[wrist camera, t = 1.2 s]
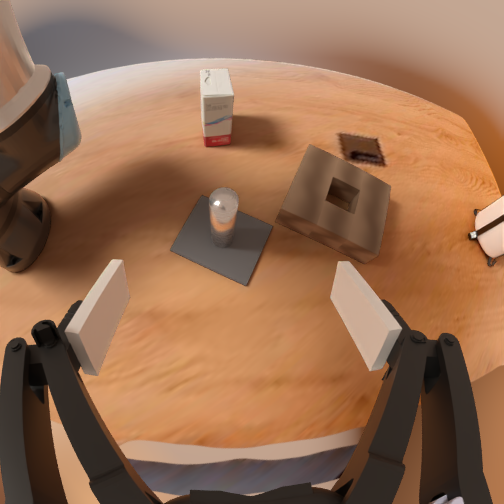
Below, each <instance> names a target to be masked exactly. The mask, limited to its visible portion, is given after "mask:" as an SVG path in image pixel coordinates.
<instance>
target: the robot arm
mask: <svg viewBox="0 0 504 504" xmlns="http://www.w3.org/2000/svg"><path fill="white" fill-rule="evenodd" d="M80 142H81V132H80V128H79V125H78V121H77V118H76V114H75V111H74V107H73V104H72V100H71V96H70V92H69V88H68V84H67V80H66V76H65V74H64V73H63V72H61V73H57V74H54V76H53V75H52V73H51V71H50V69H49V68H48V66H46V65H34V63H33V61H32V59H31V57H30V54H29V52H28V50H27V47H26V45H25V42H24V40H23V37H22V35H21V32H20V29H19V27H18V24H17V21H16V18H15V15H14V12H13V9H12V6H11V3H10V0H0V266H1V267H3V268H4V269H6V270H8V271H11V272H19V271H22V270H24V269H26V268H27V267H28V266H30V265H31V264H32V263H33V262H34V261H35V260H36V258H37V257H38V256H39V254H40V252H41V251H42V249H43V247H44V245H45V243H46V240H47V237H48V234H49V229H50V222H51V215H50V209H49V206H48V204H47V202H46V201H45V200H44V199H43V198H42V197H41V196H40V195H39V194H38V193H36V192H34V191H31V190H29V189H26V188H23V187H24V186H26V185H27V184H28V183H30V182H31V181H32V180H34V179H35V178H36V177H38V176H39V175H40V174H42V173H43V172H45V171H46V170H47V169H49V168H50V167H52V166H53V165H55V164H56V163H58V162H60V161H61V160H62V159H63V158H64V157H65V156H66V155H68V154H69V153H71V152H72V151H73V150H75V149H76V148H77V147H78V145H79V144H80ZM129 299H130V294H129V289H128V284H127V279H126V273H125V268H124V262H123V260H120V259H112V260H111V261H110V263H109V264H108V266H107V267H106V268H105V270H104V271H103V273H102V274H101V275H100V277H99V278H98V280H97V281H96V283H95V284H94V286H93V287H92V289H91V290H90V291H89V293H88V294H87V296H86V298H85V299H84V301H80V300H78V301H77V302H76V303H74V304H73V305H72V306H71V307H70V309H69V310H68V313H66V315H65V316H64V318H63V320H62V321H61V323H60V324H59V326H58V327H57V328H56V325H55V323H54V322H53V321H51V320H43V321H40V322H38V323H37V324H35V325H34V326H33V328H32V331H31V334H32V336H33V338H34V340H35V342H36V345H27V343H26V341H25V340H24V339H23V338H14V339H12V340H11V341H10V342H9V343H8V344H7V346H6V349H5V355H4V361H3V368H2V376H1V385H0V465H1V473H2V481H3V486H4V493H5V504H68V502H67V499H66V496H65V492H64V489H63V485H62V481H61V477H60V474H59V469H58V464H57V460H56V455H55V449H54V443H53V437H52V429H51V421H50V411H49V398H48V385H49V389H50V392H51V395H52V398H53V400H54V403H55V406H56V409H57V411H58V414H59V417H60V419H61V422H62V424H63V426H64V429H65V431H66V433H67V435H68V438H69V440H70V442H71V444H72V447H73V448H74V451H75V453H76V455H77V457H78V459H79V461H80V462H81V464H82V466H83V468H84V470H85V472H86V473H87V475H88V477H89V479H90V482H89V485H90V488H91V490H92V492H93V493H94V495H95V496H96V498H97V500H98V501H99V503H100V504H163V503H162V502H161V500H160V499H159V498H158V497H157V496H156V495H155V494H154V493H153V492H152V490H151V489H150V488H149V487H148V486H147V485H146V484H145V482H144V481H143V480H142V479H141V477H140V476H139V475H138V473H137V472H136V471H135V469H134V468H133V467H132V465H131V464H130V462H129V461H128V460H127V458H126V457H125V455H124V454H123V453H122V451H121V449H120V448H119V446H118V445H117V443H116V442H115V440H114V438H113V437H112V435H111V434H110V432H109V430H108V429H107V427H106V425H105V423H104V422H103V420H102V418H101V416H100V415H99V413H98V411H97V409H96V407H95V405H94V403H93V401H92V399H91V397H90V395H89V393H88V391H87V389H86V387H85V385H84V383H83V381H82V379H81V376H80V374H79V373H78V371H79V369H80V366H81V367H82V369H83V371H84V373H85V374H89V375H95V376H98V375H99V372H100V369H101V367H102V364H103V361H104V359H105V356H106V353H107V351H108V348H109V346H110V343H111V341H112V339H113V336H114V334H115V331H116V329H117V327H118V324H119V322H120V320H121V317H122V315H123V313H124V310H125V308H126V306H127V304H128V302H129ZM330 299H331V300H332V302H333V304H334V306H335V308H336V309H337V311H338V313H339V315H340V316H341V318H342V320H343V322H344V324H345V326H346V327H347V329H348V331H349V333H350V335H351V337H352V338H353V340H354V342H355V344H356V346H357V348H358V350H359V352H360V353H361V355H362V357H363V359H364V361H365V363H366V365H367V367H368V369H369V371H374V370H379V369H382V368H383V366H384V364H385V363H386V361H387V362H388V364H389V368H388V370H387V371H386V373H385V375H384V377H383V378H382V380H384V381H383V384H382V387H381V390H380V392H379V395H378V398H377V400H376V403H375V406H374V408H373V411H372V413H371V416H370V418H369V420H368V423H367V425H366V427H365V430H364V432H363V434H362V436H361V439H360V441H359V443H358V445H357V447H356V449H355V451H354V453H353V455H352V457H351V459H350V461H349V463H348V465H347V467H346V469H345V470H344V472H343V474H342V476H341V477H340V478H339V480H338V481H337V482H336V483H335V485H334V486H333V488H332V489H331V491H330V490H327V489H323V488H317V487H311V482H309V483H304V484H298V485H292V486H285V487H280V488H277V489H274V490H271V491H268V492H265V493H262V494H259V495H255V496H246V495H240V494H234V493H228V492H223V491H204V490H190V494H189V495H184V496H180V497H177V498H175V499H172V500H170V501H168V502H166V503H165V504H392V502H393V500H394V497H395V495H396V493H397V490H398V488H399V485H400V483H401V480H402V477H403V475H404V471H405V465H404V464H402V460H403V457H404V454H405V451H406V448H407V445H408V442H409V438H410V435H411V431H412V427H413V424H414V420H415V416H416V412H417V407H418V403H419V398H420V394H421V406H422V465H421V479H420V493H419V503H420V504H493V503H492V499H491V496H490V492H489V489H488V486H487V483H486V479H485V476H484V473H483V465H482V450H481V440H480V432H479V425H478V419H477V412H476V407H475V402H474V397H473V392H472V387H471V383H470V379H469V375H468V371H467V367H466V364H465V360H464V357H463V353H462V350H461V347H460V344H459V341H458V339H457V338H456V337H455V336H454V335H452V334H449V333H442V334H441V335H440V336H439V338H438V340H428V339H427V337H426V336H425V335H424V334H423V333H421V332H419V331H415V330H411V329H410V328H409V326H408V325H407V324H406V322H405V321H404V320H403V319H402V317H401V316H399V313H398V312H397V311H396V310H395V308H394V307H393V306H392V305H391V304H390V303H389V302H387V301H386V300H380V299H379V297H378V296H377V295H376V294H375V292H374V291H373V290H372V288H371V287H370V286H369V285H368V284H367V282H366V281H365V280H364V279H363V277H362V276H361V275H360V274H359V272H358V271H357V270H356V269H355V268H354V266H353V265H352V264H351V263H350V262H349V261H338V265H337V270H336V274H335V279H334V283H333V287H332V291H331V296H330Z"/></svg>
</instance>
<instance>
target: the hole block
mask: <svg viewBox="0 0 504 504" xmlns="http://www.w3.org/2000/svg"><path fill="white" fill-rule="evenodd" d="M390 191H391V186H390V185H388V184H387V183H385V182H383V181H381V180H380V179H378V178H376V177H374V176H372V175H371V174H369V173H367V172H365V171H363V170H361V169H360V168H358V167H356V166H354V165H352V164H350V163H348V162H346V161H344V160H342V159H340V158H338V157H336V156H334V155H332V154H330V153H328V152H326V151H324V150H321V149H319V148H317V147H315V146H313V145H311V144H309V146H308V148H307V151H306V153H305V155H304V157H303V160H302V162H301V164H300V166H299V169H298V171H297V173H296V176H295V178H294V180H293V182H292V185H291V187H290V189H289V191H288V194H287V196H286V198H285V200H284V203H283V205H282V207H281V209H280V212H279V214H278V216H277V218H276V221H275V222H276V223H279V224H281V225H283V226H285V227H287V228H290V229H292V230H294V231H296V232H298V233H300V234H303V235H305V236H307V237H309V238H311V239H313V240H315V241H318V242H320V243H322V244H324V245H326V246H328V247H330V248H332V249H334V250H336V251H339V252H341V253H343V254H345V255H347V256H349V257H351V258H353V259H355V260H357V261H359V262H361V263H363V264H366V263H367V262H369V261H370V260H372V259H374V258H375V257H377V256H379V251H380V247H381V242H382V237H383V232H384V227H385V222H386V216H387V210H388V204H389V198H390ZM328 193H329V194H331V195H333V196H335V197H337V198H339V199H341V200H343V201H345V202H347V203H349V206H348V210H347V211H346V210H344V209H342V208H340V207H338V206H336V205H334V204H332V203H330V202H328V201H326V197H327V194H328Z"/></svg>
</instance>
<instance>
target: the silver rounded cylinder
mask: <svg viewBox="0 0 504 504" xmlns="http://www.w3.org/2000/svg"><path fill="white" fill-rule="evenodd" d="M238 203H239V198H238V195H237V193H236V192H235V191H234V190H232V189H230V188H225V187H222V188H218V189H216V190H214V191H213V192H212V193H211V195H210V198H209V206H210V224H211V239H212V242H213V244H214V245H215V246H217V247H220V248H225V247H228V246H229V245H231V243H232V242H233V237H234V230H235V223H236V216H237V209H238Z"/></svg>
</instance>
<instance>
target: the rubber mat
mask: <svg viewBox="0 0 504 504" xmlns="http://www.w3.org/2000/svg"><path fill="white" fill-rule="evenodd" d="M272 227H273V226H272V225H270V224H267V223H265V222H263V221H261V220H258V219H256V218H254V217H252V216H249V215H247V214H245V213H243V212H240V211H238V210H237V216H236V223H235V230H234V237H233V242H232V243H231V245H229V246H228V247H225V248H220V247H217V246H215V245H214V244H213V242H212V239H211V224H210V206H209V198H208V197H205V196H203V195H202V196H201V197H200V199H199V201H198V202H197V204H196V206H195V207H194V209H193V211H192V212H191V214H190V216H189V217H188V219H187V221H186V223H185V224H184V226H183V228H182V230H181V231H180V233H179V235H178V237H177V238H176V240H175V242H174V244H173V245H172V247H171V249H170V251H172V252H174V253H176V254H178V255H180V256H182V257H184V258H187V259H189V260H191V261H193V262H195V263H197V264H199V265H201V266H203V267H205V268H208V269H210V270H212V271H214V272H216V273H218V274H220V275H223V276H225V277H227V278H229V279H231V280H233V281H236V282H238V283H240V284H242V285H244V286H246V285H247V283H248V280H249V278H250V276H251V274H252V272H253V269H254V267H255V265H256V263H257V261H258V258H259V256H260V254H261V252H262V250H263V247H264V245H265V243H266V241H267V238H268V236H269V234H270V232H271V229H272Z"/></svg>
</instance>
